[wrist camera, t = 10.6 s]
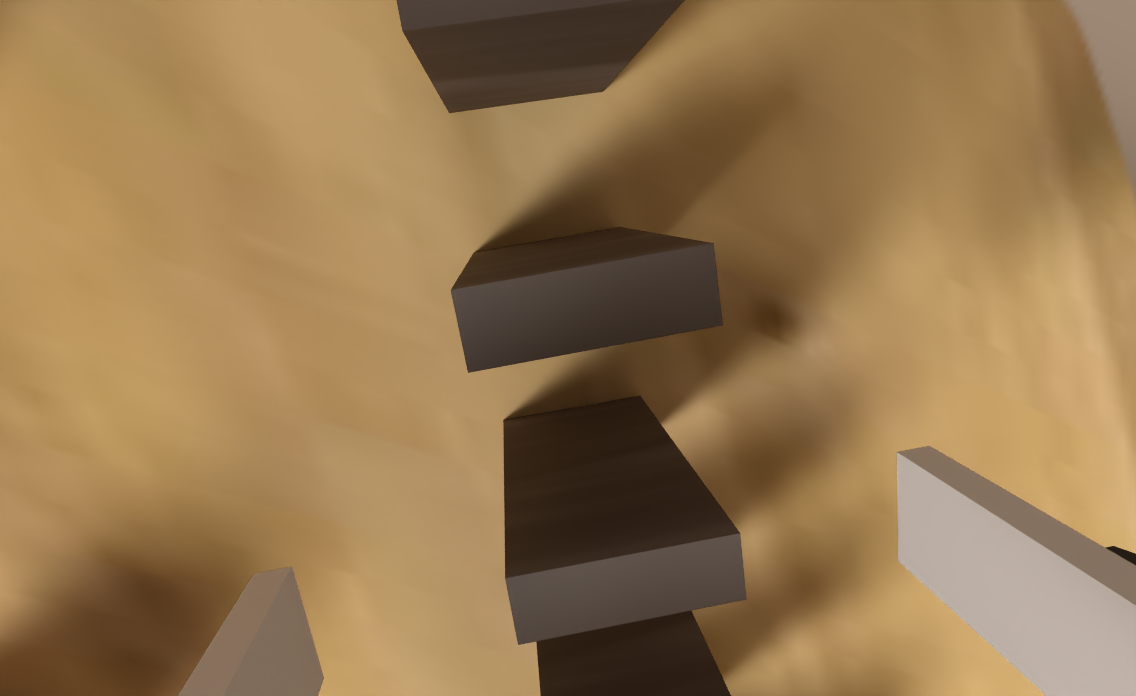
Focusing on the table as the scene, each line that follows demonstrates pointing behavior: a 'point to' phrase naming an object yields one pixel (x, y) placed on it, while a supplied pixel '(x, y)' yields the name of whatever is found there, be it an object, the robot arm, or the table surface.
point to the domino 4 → (631, 661)
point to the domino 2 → (582, 295)
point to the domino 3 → (609, 523)
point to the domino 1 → (526, 46)
